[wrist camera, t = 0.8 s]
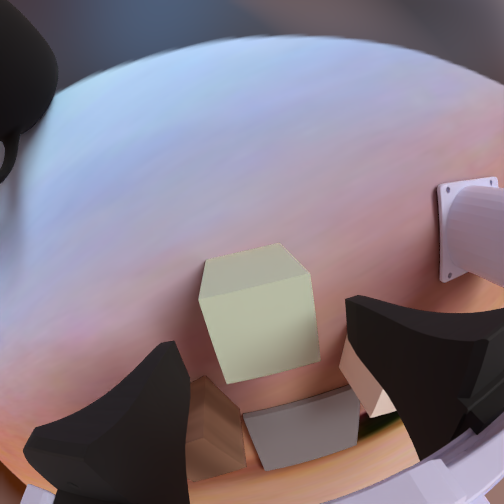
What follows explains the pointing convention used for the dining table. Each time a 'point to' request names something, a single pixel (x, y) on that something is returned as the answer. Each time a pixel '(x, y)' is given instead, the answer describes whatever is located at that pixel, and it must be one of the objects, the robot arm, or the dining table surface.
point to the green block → (259, 312)
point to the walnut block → (212, 433)
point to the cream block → (364, 383)
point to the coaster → (305, 428)
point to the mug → (22, 79)
